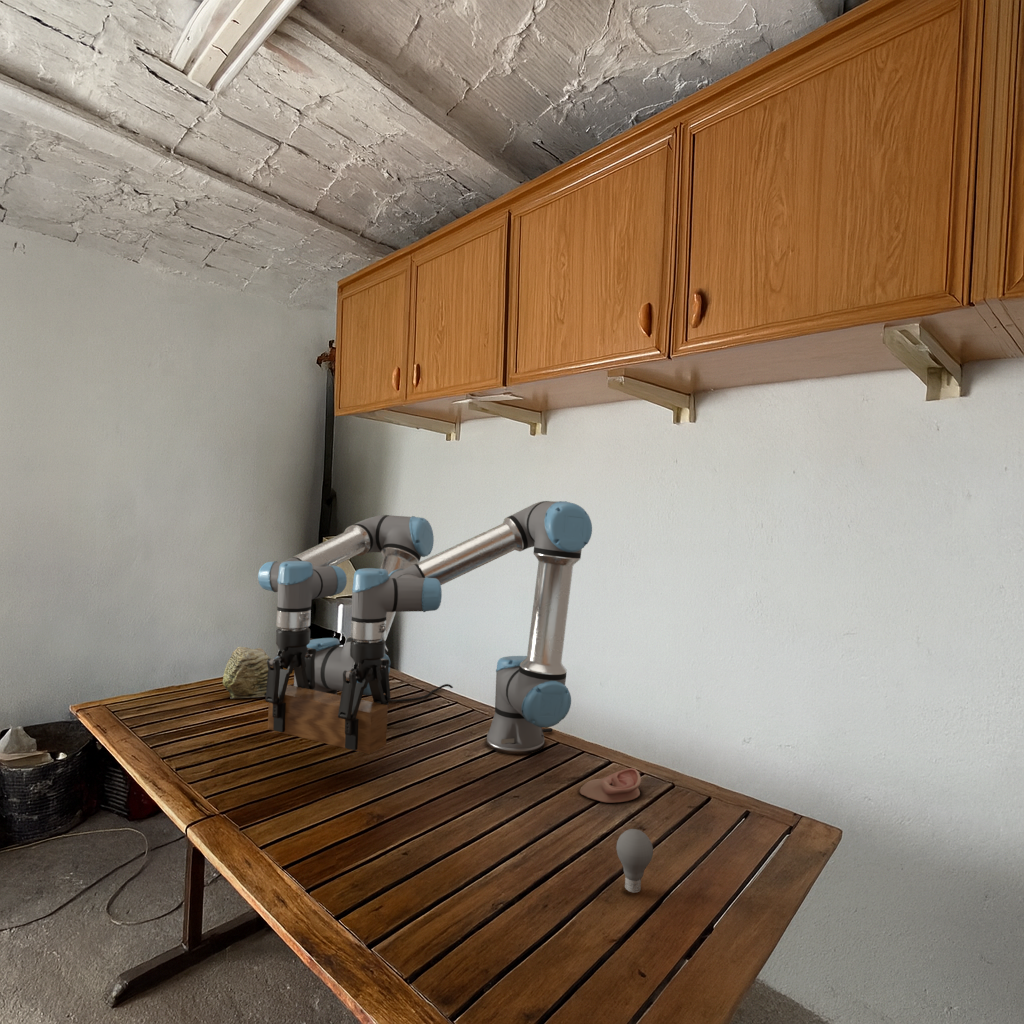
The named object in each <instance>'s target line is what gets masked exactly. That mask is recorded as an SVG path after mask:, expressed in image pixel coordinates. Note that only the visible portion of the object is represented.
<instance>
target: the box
mask: <svg viewBox="0 0 1024 1024" xmlns="http://www.w3.org/2000/svg"><path fill="white" fill-rule="evenodd" d="M278 698H279V697H278ZM340 700H341V694H337V695H335V694H330V693H326V692H321V691H316V690H311V689H306V688H301V687H296V686H294V685H290V684H287V688H286V692H285V696H284V700H283V703H286V711H285V731H284V732H279V731H275V730H273V726H274V717H273V716H272V713H273V704H272V703H269V702H268V707H267V709H268V710H267V711H268V712H267V715H268V716H267V730H269V731H274V732H278V733H281V734H286V735H290V736H294V737H298V738H302V739H306V740H310V741H315V742H319V743H323V744H327V745H330V746H335V747H338V748H343V749H346V748H345V719H342V718H338V713H339V706H340ZM388 709H389V704H388V705H384V704H379V703H374V701H369V700H364V699H361V702H360V706H359V709H358V712H357V716H356V719H359V722H358V747H357V750H354V751H355V752H359V753H364V754H368V755H370V754H372V753H374V752H376V751H378V750H379V749H381V748H382V747H385V746H386V745H387V735H388V732H387V731H388ZM351 714H352V713H351ZM350 750H351V751H353V750H352V749H350Z"/></svg>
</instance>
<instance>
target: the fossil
mask: <svg viewBox="0 0 1024 1024" xmlns="http://www.w3.org/2000/svg"><path fill="white" fill-rule="evenodd" d="M269 658H270V659H272V658H271V657H270V656H269V655H268V654H267V653H266V652H265V650H264V649H263V648H260V647H258V648H251V647H247V646H246V647H245V646H238V647H237V648H236V649H235V650H233V651H232V653H231V656H230V657H229V659H228V660H227V663H226V666H225V668H224V671H223V675H222V676H223V677H222V685H223V687H224V688H225V690H226V691H228V693H229V698H230V699H250V698H264V697H265V698H266V688H267V677H268V665H267V660H268V659H269Z"/></svg>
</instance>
